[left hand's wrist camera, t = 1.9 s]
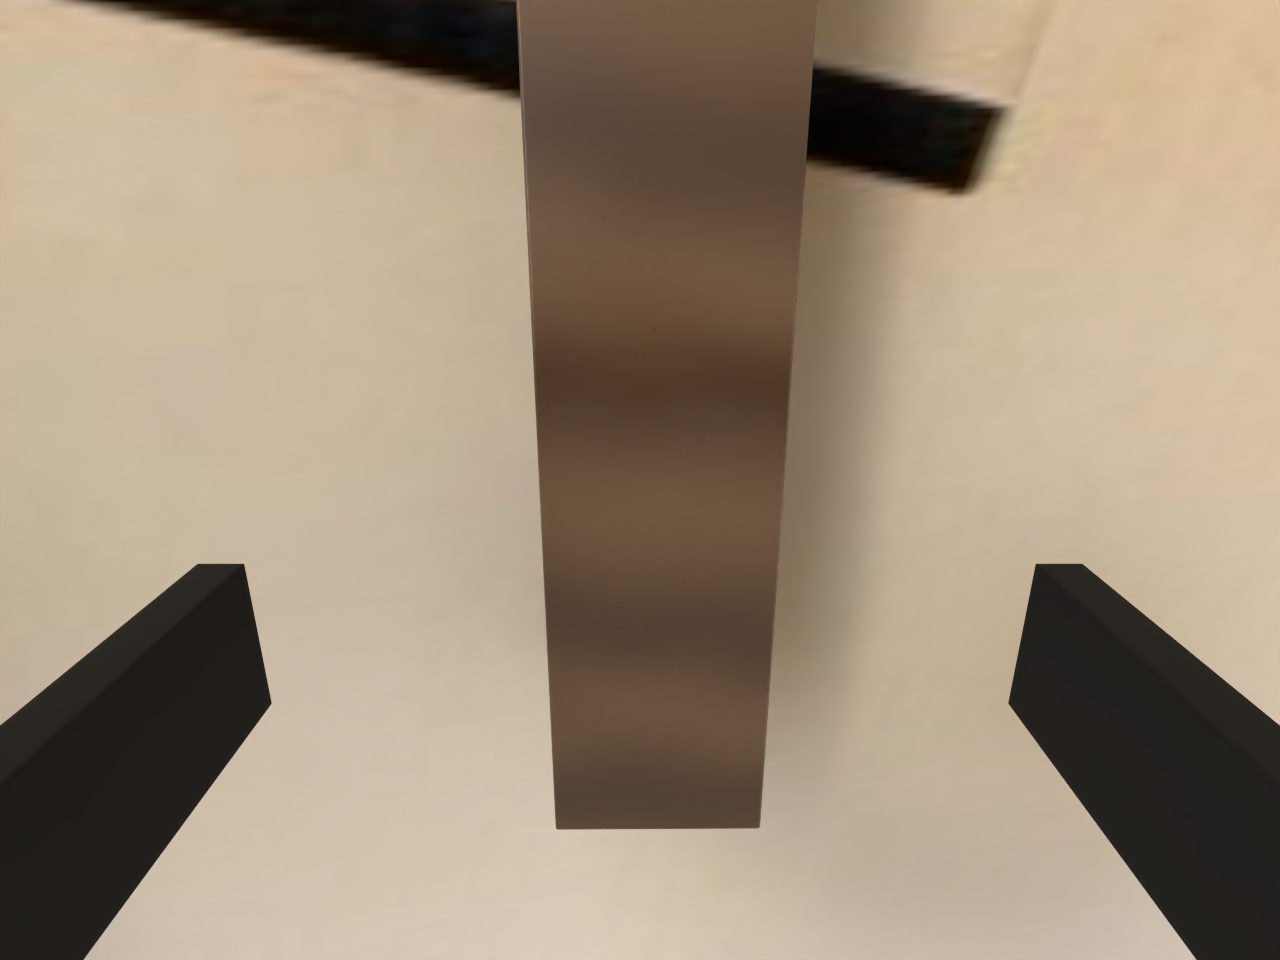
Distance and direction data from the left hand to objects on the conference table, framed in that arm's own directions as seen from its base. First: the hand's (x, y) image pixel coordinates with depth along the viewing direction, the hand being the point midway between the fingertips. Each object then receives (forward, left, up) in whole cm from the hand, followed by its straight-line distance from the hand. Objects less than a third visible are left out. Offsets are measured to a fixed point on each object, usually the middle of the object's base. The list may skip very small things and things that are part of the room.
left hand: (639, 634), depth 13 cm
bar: (+17, +19, -13) cm, 28 cm away
